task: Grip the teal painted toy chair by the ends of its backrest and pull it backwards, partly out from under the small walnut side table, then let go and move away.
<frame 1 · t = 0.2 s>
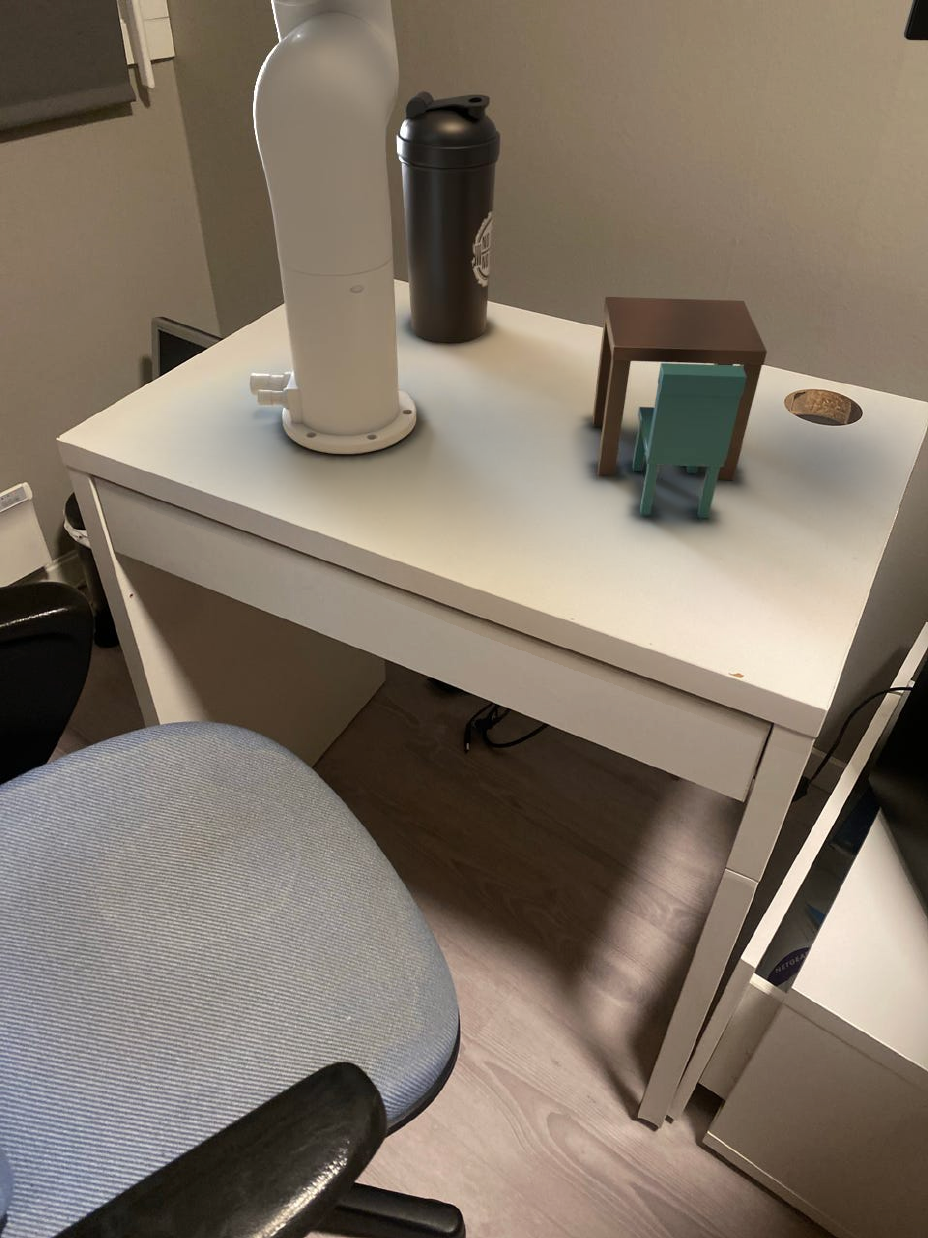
chair: (668, 491, 77), on the table
water bottle: (448, 328, 102), on the table
side table: (659, 448, 82), on the table
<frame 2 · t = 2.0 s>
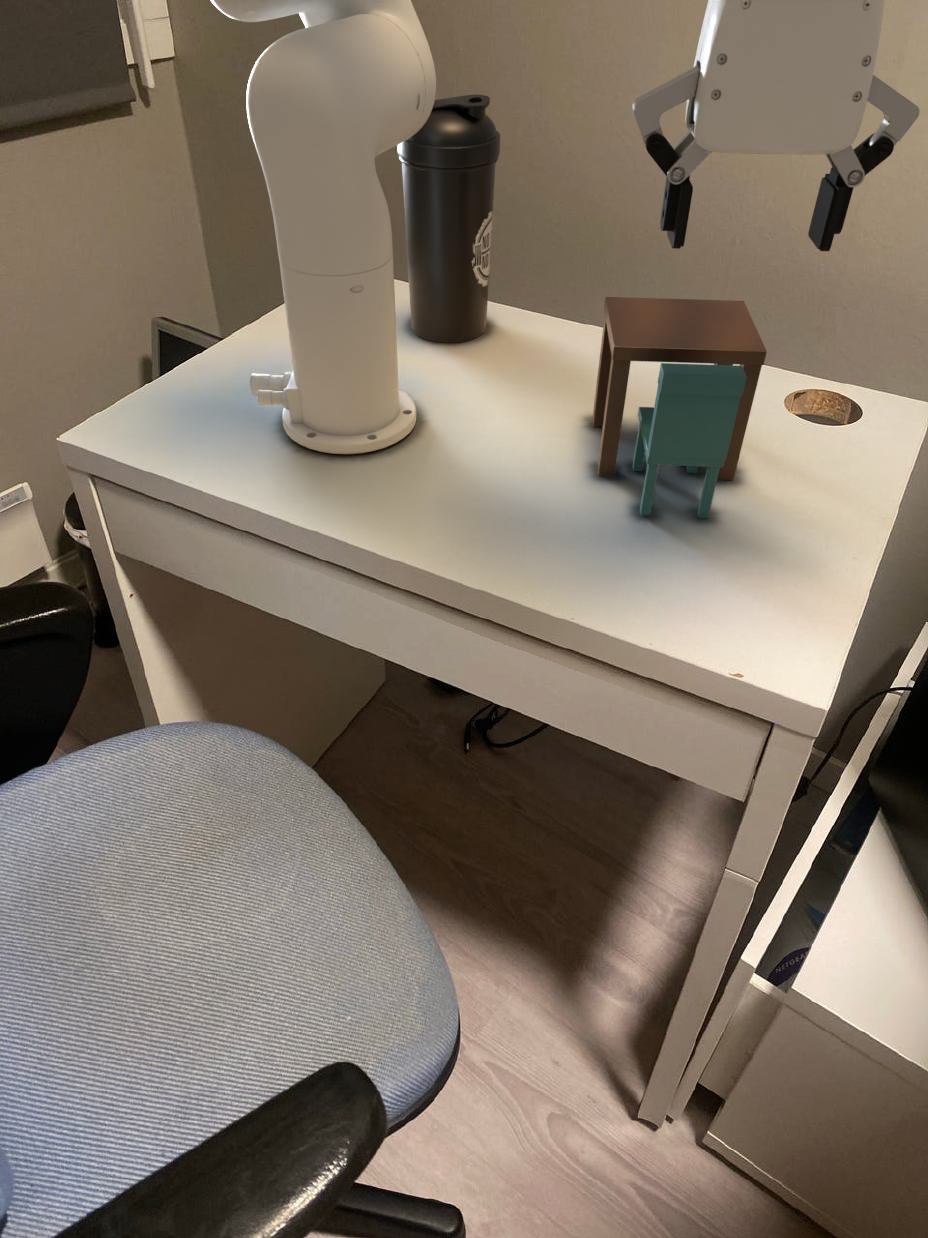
hand: (746, 242, 61), 22 cm above the table, tool pointing down, fingers open, 9 cm apart
nothing on the table moved.
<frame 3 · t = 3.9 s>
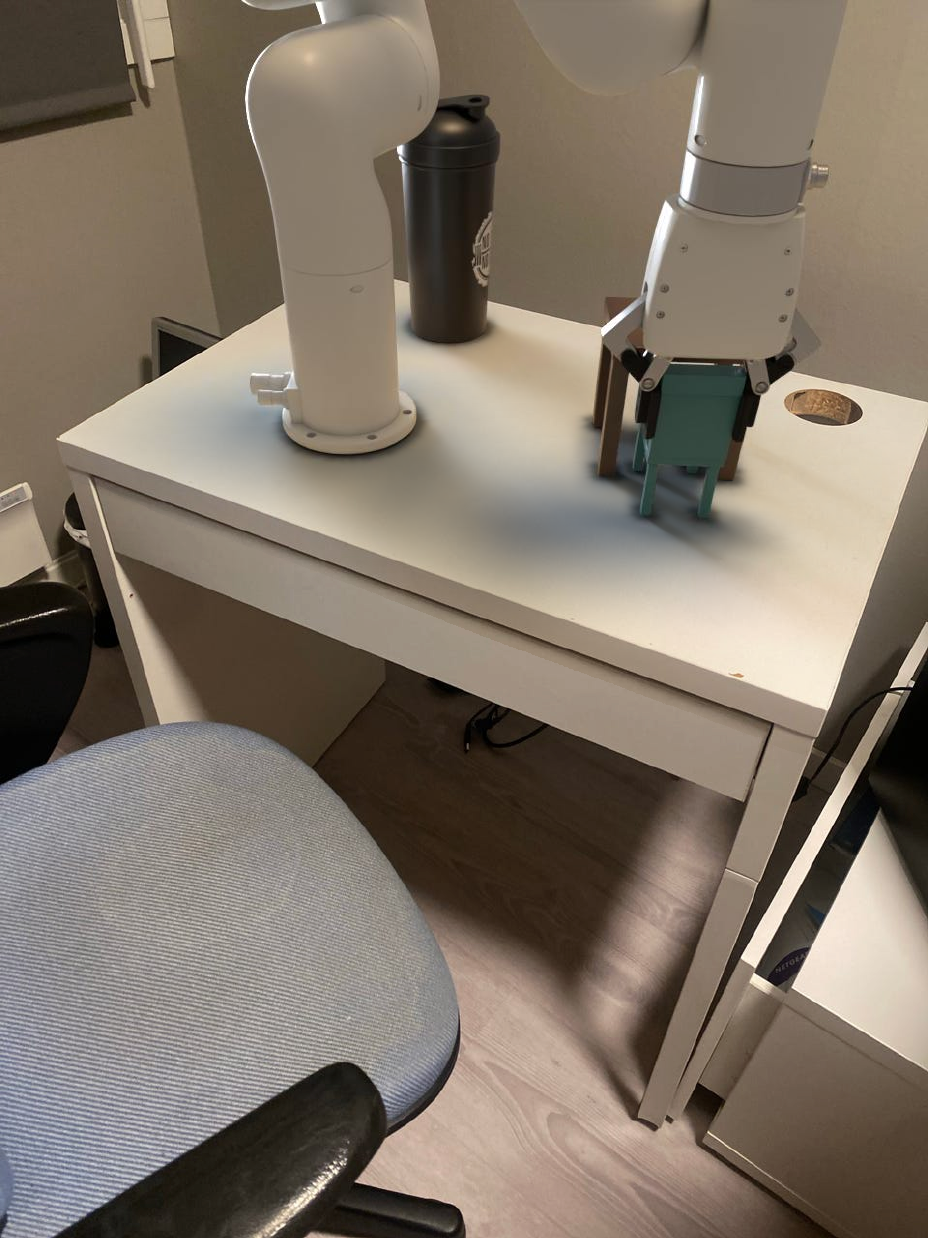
hand: (691, 430, 69), 8 cm above the table, tool pointing down, fingers closed on chair, 6 cm apart
chair: (668, 491, 77), on the table, touching gripper
everything else where it was.
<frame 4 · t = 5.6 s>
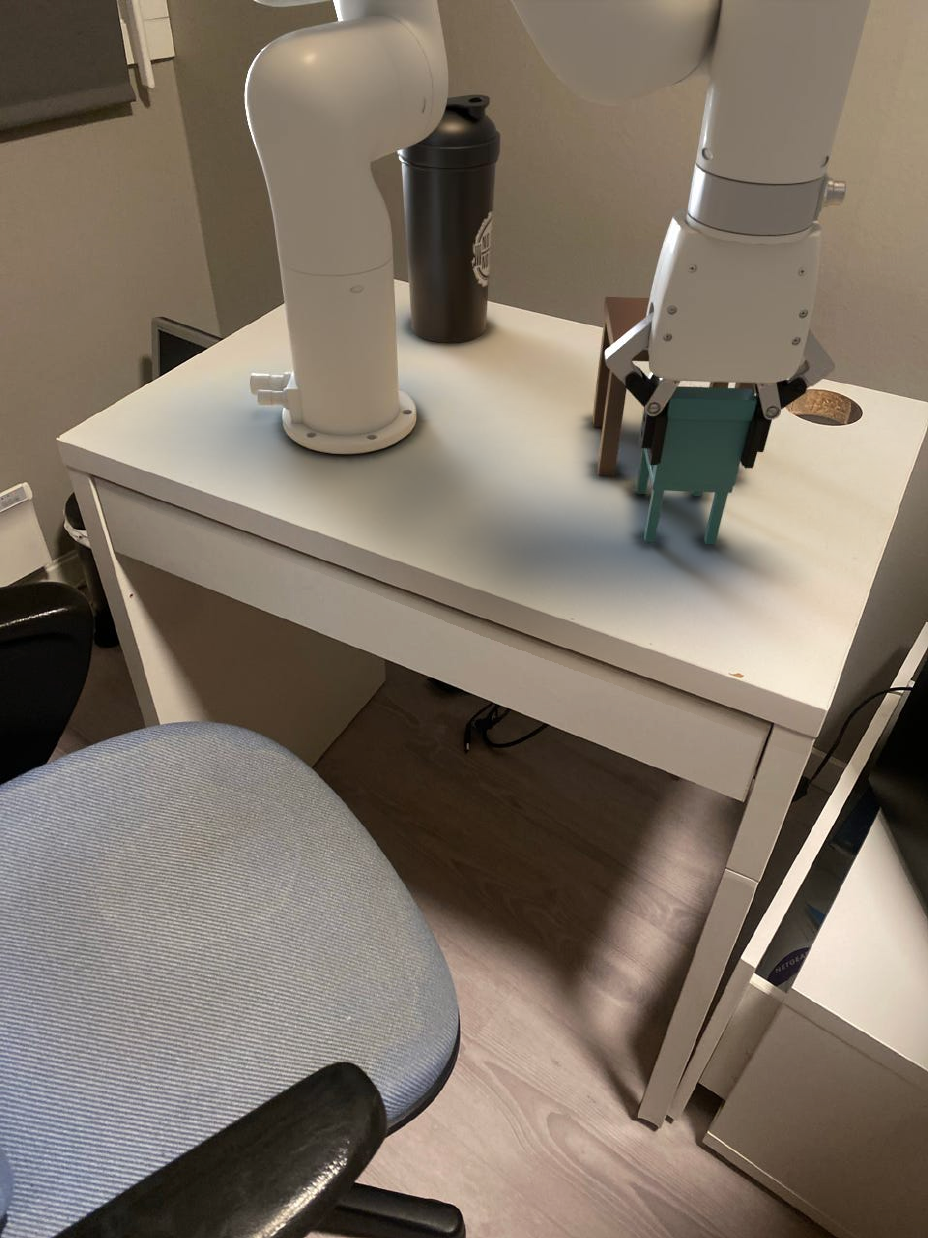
hand: (698, 454, 66), 8 cm above the table, tool pointing down, fingers closed on chair, 6 cm apart
chair: (673, 515, 74), on the table, touching gripper
everything else where it was.
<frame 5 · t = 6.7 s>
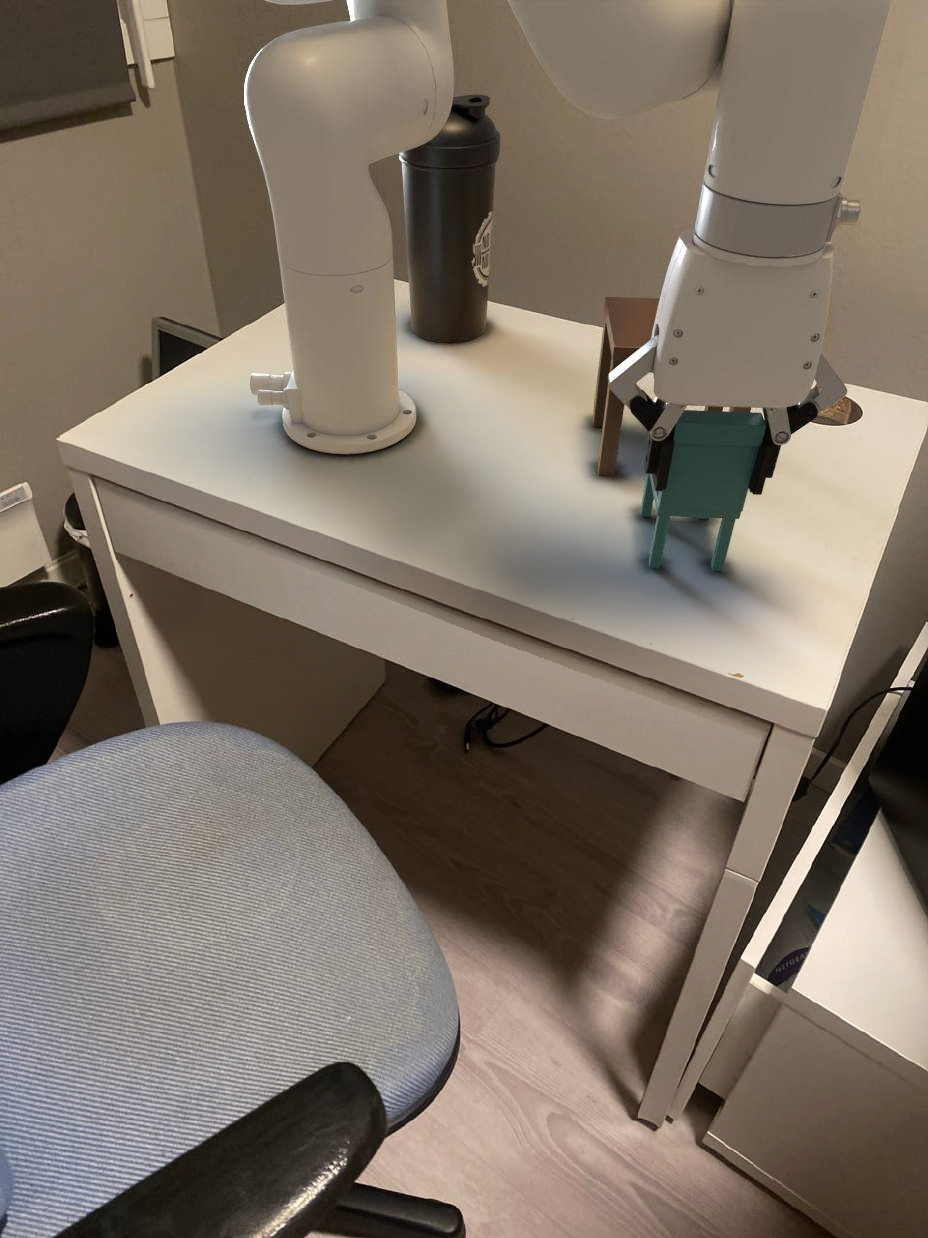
hand: (705, 480, 64), 8 cm above the table, tool pointing down, fingers closed on chair, 6 cm apart
chair: (679, 540, 72), on the table, touching gripper
everything else where it was.
when the fingers open (8 cm above the table, at t = 7.0 s): chair stays where it is, on the table.
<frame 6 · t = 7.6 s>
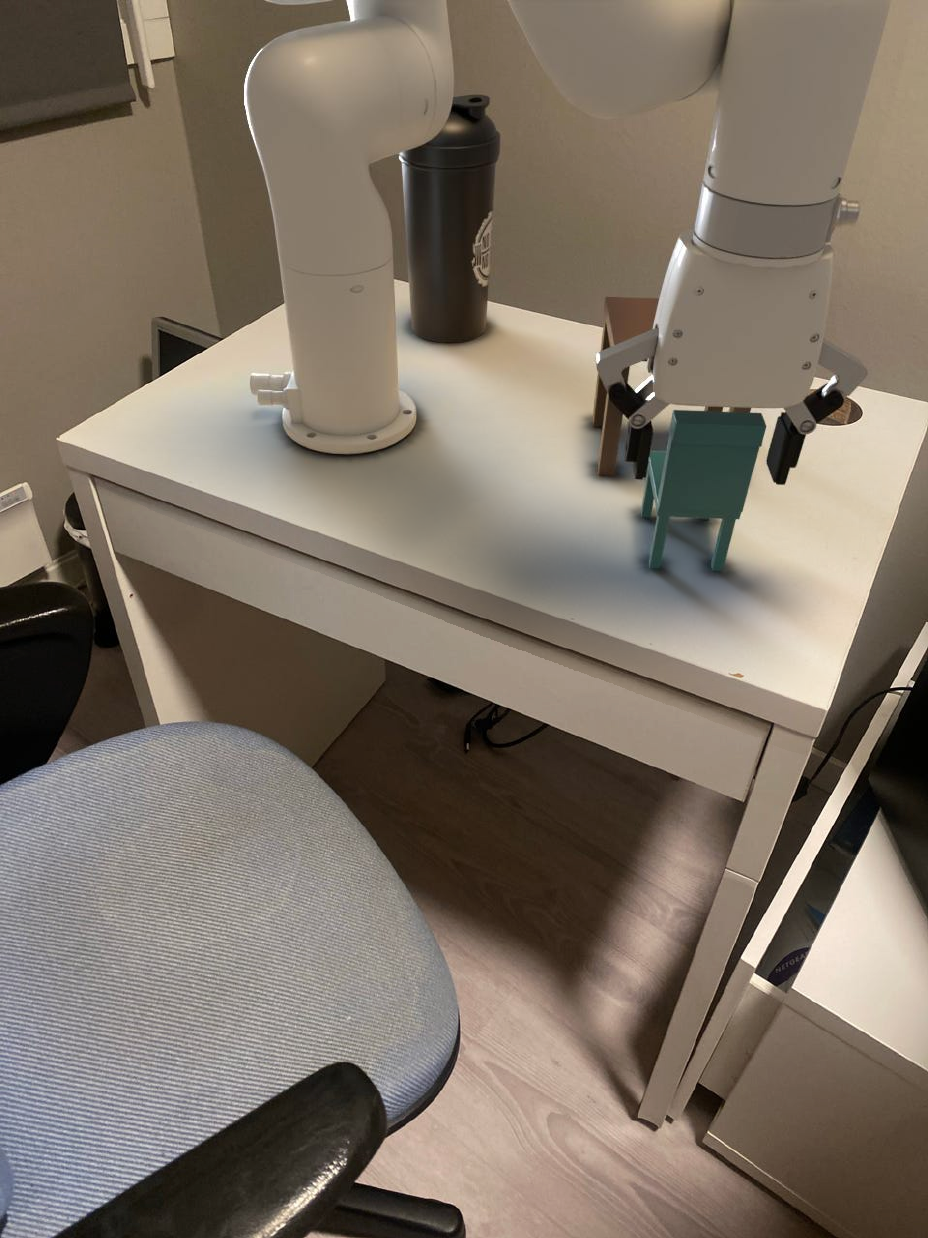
hand: (706, 471, 63), 9 cm above the table, tool pointing down, fingers open, 9 cm apart
chair: (679, 540, 72), on the table
everything else where it was.
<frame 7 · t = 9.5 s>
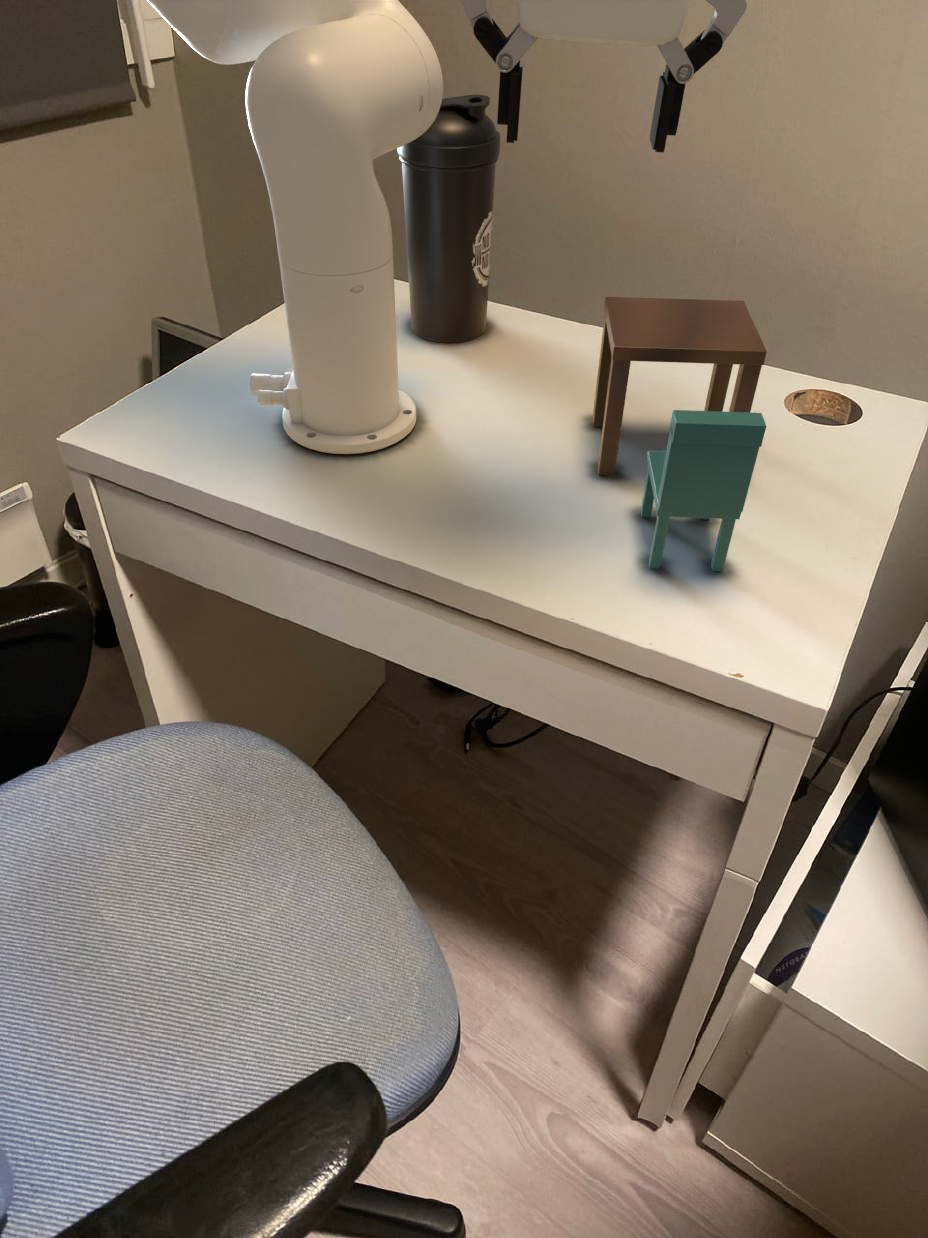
hand: (584, 141, 60), 27 cm above the table, tool pointing down, fingers open, 9 cm apart
nothing on the table moved.
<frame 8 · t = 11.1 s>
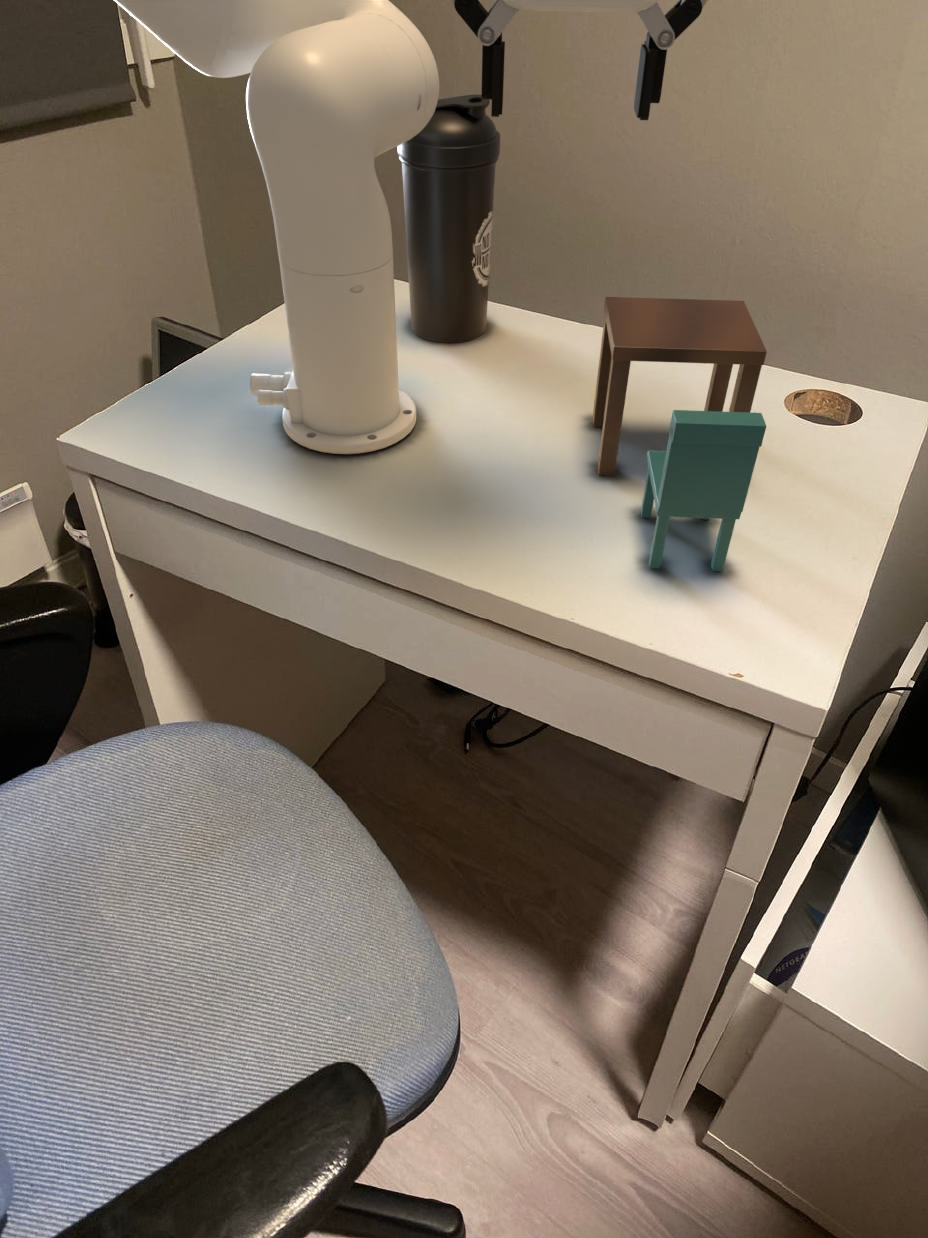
hand: (568, 113, 60), 28 cm above the table, tool pointing down, fingers open, 9 cm apart
nothing on the table moved.
at the end: chair 0.1 cm from the target spot, on the table; chair tilted 0°; chair touching table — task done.
